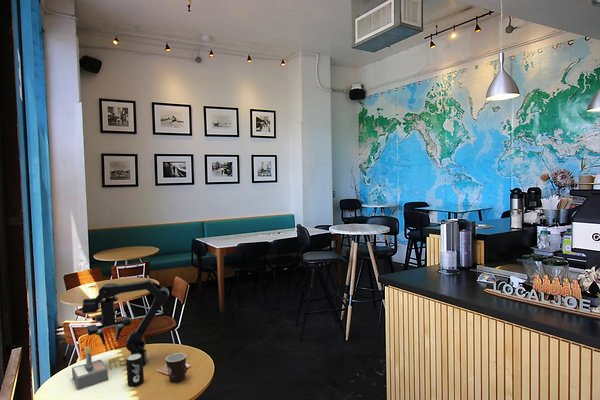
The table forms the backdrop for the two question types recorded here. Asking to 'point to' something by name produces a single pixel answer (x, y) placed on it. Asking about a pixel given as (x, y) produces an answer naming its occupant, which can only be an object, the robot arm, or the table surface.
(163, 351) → the table surface
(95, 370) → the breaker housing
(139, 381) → the beverage can
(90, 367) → the breaker lever
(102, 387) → the table surface
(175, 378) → the coffee mug
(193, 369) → the table surface
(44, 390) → the table surface
